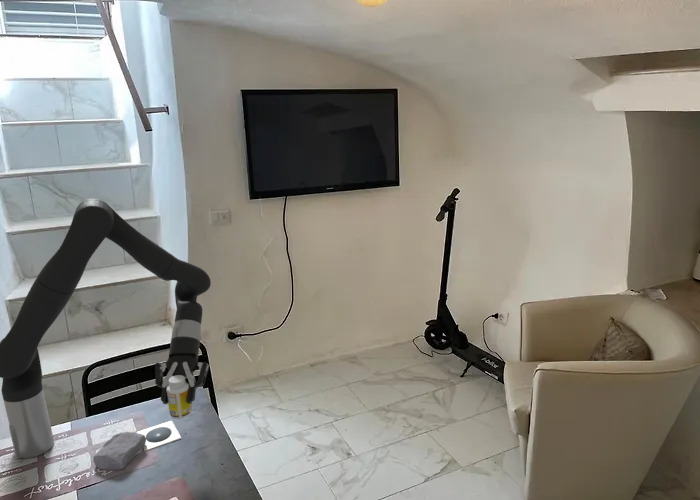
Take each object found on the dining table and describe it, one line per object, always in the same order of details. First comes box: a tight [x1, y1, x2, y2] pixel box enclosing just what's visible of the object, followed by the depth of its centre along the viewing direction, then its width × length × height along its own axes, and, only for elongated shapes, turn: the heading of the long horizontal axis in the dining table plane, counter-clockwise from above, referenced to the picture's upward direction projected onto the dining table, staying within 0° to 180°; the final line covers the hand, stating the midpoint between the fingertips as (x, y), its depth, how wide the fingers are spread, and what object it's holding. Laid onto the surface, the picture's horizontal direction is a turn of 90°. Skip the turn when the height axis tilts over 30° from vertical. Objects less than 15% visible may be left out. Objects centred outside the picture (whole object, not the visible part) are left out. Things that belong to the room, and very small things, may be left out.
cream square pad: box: [136, 420, 182, 452], centre depth 152 cm, size 10×10×1 cm
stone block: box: [92, 431, 146, 471], centre depth 143 cm, size 12×5×10 cm
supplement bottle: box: [167, 375, 193, 420], centre depth 138 cm, size 6×6×10 cm
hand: (177, 403), depth 136 cm, fingers closed on supplement bottle, 5 cm apart
